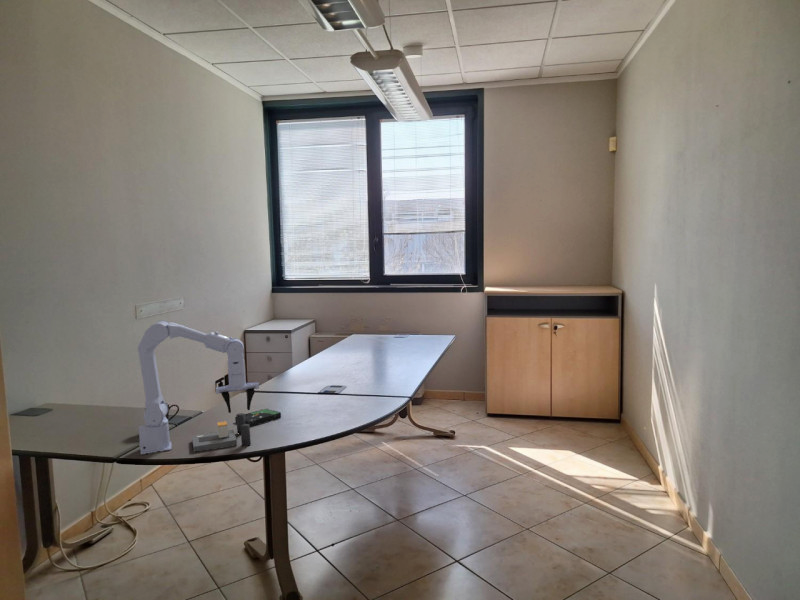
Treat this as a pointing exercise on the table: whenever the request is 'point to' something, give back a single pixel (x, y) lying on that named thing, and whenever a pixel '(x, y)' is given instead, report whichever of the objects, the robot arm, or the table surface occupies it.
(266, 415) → the disk drive
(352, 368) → the table surface
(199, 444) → the breaker panel
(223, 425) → the block
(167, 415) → the coffee mug
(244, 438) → the post
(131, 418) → the table surface
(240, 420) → the cylinder
